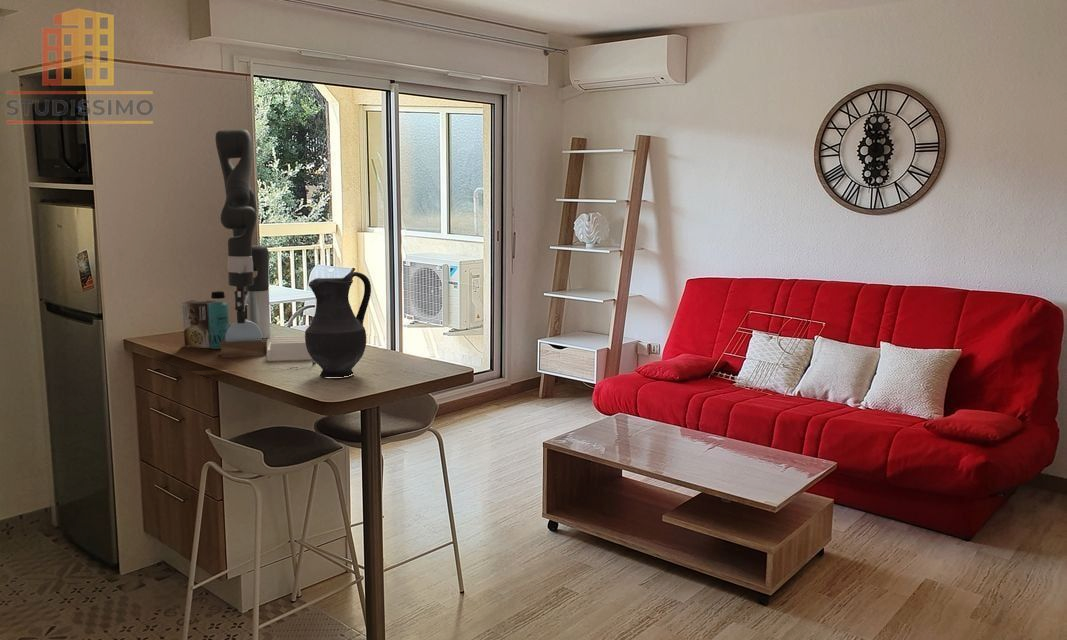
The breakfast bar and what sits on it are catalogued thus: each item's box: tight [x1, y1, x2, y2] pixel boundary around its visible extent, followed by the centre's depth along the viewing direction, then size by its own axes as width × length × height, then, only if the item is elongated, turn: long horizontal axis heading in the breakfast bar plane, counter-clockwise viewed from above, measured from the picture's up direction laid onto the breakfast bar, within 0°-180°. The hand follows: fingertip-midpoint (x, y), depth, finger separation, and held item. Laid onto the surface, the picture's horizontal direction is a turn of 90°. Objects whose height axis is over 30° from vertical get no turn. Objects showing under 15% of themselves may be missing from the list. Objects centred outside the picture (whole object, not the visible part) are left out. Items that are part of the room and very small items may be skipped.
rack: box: [266, 335, 317, 364], centre depth 265 cm, size 13×15×6 cm
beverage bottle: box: [208, 290, 230, 350], centre depth 275 cm, size 6×7×20 cm
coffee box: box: [181, 299, 215, 349], centre depth 278 cm, size 9×6×16 cm
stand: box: [220, 338, 268, 358], centre depth 266 cm, size 6×14×6 cm, turn 104°
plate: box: [225, 320, 262, 342], centre depth 266 cm, size 2×11×11 cm, turn 104°
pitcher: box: [304, 271, 372, 378], centre depth 244 cm, size 17×21×30 cm
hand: (242, 321), depth 265 cm, fingers open, 8 cm apart
